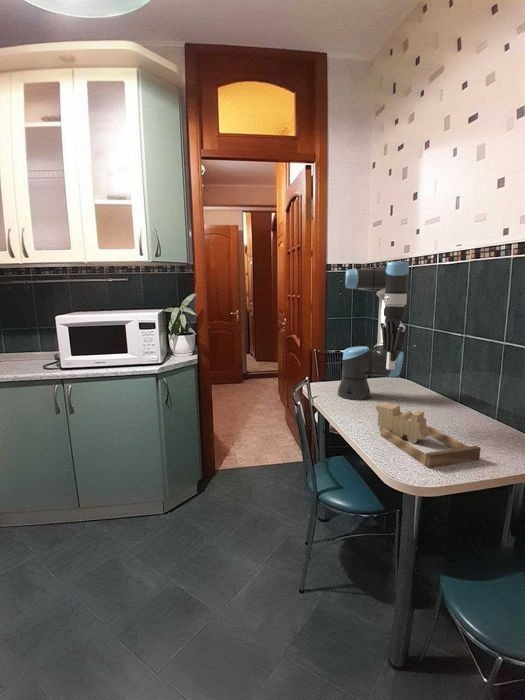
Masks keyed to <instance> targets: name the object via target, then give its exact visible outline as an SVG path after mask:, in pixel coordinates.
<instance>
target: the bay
mask: <svg viewBox="0 0 525 700" xmlns="http://www.w3.org/2000/svg"><path fill="white" fill-rule="evenodd" d="M426 427H427V428H428V430H429V431H430V435H428V437H429V436H430V437H431V438H433V439H435V440H436V441H439V442H440V443H442V444H443V445H446V446H447V447H449V448H451V449H445V450H436V451H429V452H426V453H425V452H422V450H420V449H418V448H416V447H415V446H414V445H412V444H411V443H409V442H407V441H406V440H404V439H403V438H399V437H398V436H396V435H395V434H393V433H392V432H390V431H388V430H387V429H385V428H381V432H379V433H380V434H379V435H380V436H381V437H382V438H384V439H385V440H387V441H388V442H390V443H391V444H392V445H394V446H395V447H397V448H398V449H400V450H402V452H404V453H405V454H407V455H409V456H410V457H411V458H413V459H414V460H416V461H417V462H419V463H420V464H422V465H423V466H424V467H426V468H428V469H433V468H438V467H446V466H451V465H459V464H464V463H472V462H477V461H480V457H481V451H482V450H481V447H480V446H478V445H472V446H469V445H467V444H464V443H463V442H462V441H459V440H457V439H455V438H453V437H451V436H450V435H448V434H445V433H444V432H441V431H439V430H438V429H436V428H434V427H432V426H430V425H428V424H426Z"/></svg>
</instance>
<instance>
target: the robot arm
mask: <svg viewBox="0 0 525 700" xmlns="http://www.w3.org/2000/svg"><path fill="white" fill-rule="evenodd" d="M409 268H410V264H409V262H408V261H407V262H406V261H389V262H388V263H387V264H386V266H384V267H382V266H381V267H380V266H379V267H378V266H377V267H373V266H372V267H370V266H369V267H365V268H357V269H356V268H353V269H351V268H350V269H347V270H346V271H345V282H344V283H345V288H347V289H352V290H355V289H356V290H362V291H368V292H376V293H375V294H376V296H377V297H378V300H379V301H378V302H379V303H378V322H377V323H378V325H377V342H376V344H375V345H374V346H373V349H372V350H371V349H370V347H368V346H362V345H361V346H352V347H348V348H345V349H344V350H343V353H342V354H343V355H342V370H341V371H342V373H341V379H340V383H339V386H338V389H337V395H338V396H339V397H341V398H343V399H348V400H355V401H358V400H359V401H361V400H367V399H370V398H371V390H370V386H369V382H368V376H377V377H379V376H380V377H388V378H392V377H393V378H394V377H398V376H400V374H401V370H402V366H403V361H404V352H403V351H402V348H403V343H404V341H405V335H406V333H407V330H408V326H406V325H404V324H403V323H404V321H403V318H404V317H406V312H407V311H406V310H407V309H406V308H407V307H406V305H407V298H408V284H409V283H408V282H409V273H410V269H409Z"/></svg>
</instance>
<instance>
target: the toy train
mask: <svg viewBox="0 0 525 700" xmlns="http://www.w3.org/2000/svg"><path fill="white" fill-rule="evenodd" d="M375 409H376V411H377V413H378V415H377V426H378V427H379V431H380V432H381V428H385V429H387V430H388V431H390V432H391V433H393V434H395V435H396V436H398V437H399V438H401V439H403V437H405V436H407V441H408V443H409V442H410V444H416V443H417V442H419V441H420V440H421V441H422V440H424V439H426V438H427V437H429V435H430V431H429V430H428V428H427V427H426V425H427V418H425V411H424V410H418V411H416V412H414V413H413V412H412V411H411V410H407V411H405V412H402V411H401V406H400V405H398V404H395V403H389V402H386V401H385V402H382V403H380V404H378V405H376V406H375ZM380 432H379V433H380Z"/></svg>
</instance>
